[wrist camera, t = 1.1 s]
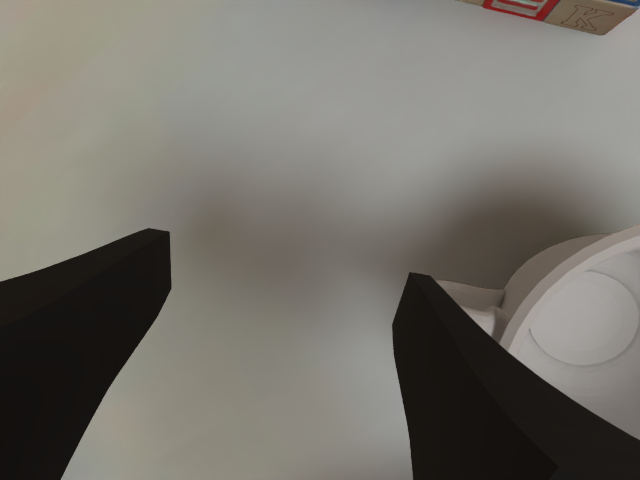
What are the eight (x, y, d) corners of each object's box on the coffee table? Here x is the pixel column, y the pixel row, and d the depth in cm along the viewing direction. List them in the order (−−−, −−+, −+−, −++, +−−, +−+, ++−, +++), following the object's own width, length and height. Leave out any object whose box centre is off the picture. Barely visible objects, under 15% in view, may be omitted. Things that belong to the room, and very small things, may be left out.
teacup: (441, 159, 21) (471, 136, 11) (745, 235, 18) (1122, 289, 9) (380, 352, 23) (361, 468, 14) (643, 444, 21) (850, 669, 11)
